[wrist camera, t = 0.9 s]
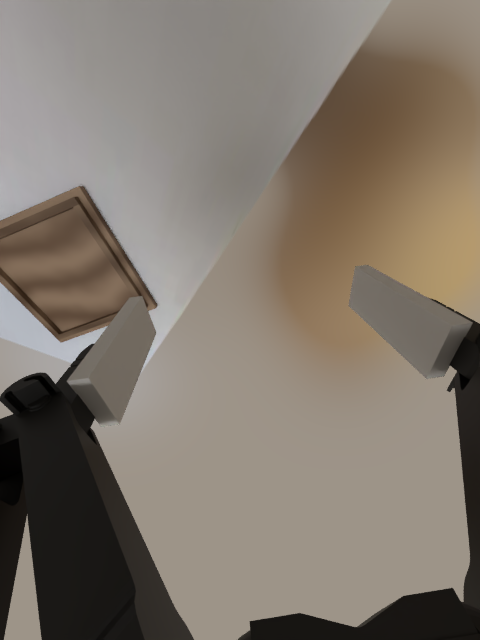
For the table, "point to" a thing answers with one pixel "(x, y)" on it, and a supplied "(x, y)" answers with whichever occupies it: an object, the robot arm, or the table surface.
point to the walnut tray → (67, 265)
